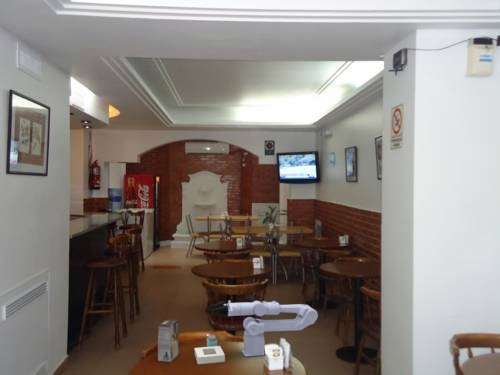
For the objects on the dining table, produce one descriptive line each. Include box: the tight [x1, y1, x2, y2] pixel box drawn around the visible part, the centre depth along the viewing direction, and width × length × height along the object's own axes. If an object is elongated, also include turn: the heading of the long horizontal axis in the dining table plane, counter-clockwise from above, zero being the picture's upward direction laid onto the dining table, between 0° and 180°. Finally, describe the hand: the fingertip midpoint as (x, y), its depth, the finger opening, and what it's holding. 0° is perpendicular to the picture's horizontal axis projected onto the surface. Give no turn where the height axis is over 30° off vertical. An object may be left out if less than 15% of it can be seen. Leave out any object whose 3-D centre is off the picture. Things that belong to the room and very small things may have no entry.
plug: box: [206, 334, 218, 347], centre depth 208 cm, size 4×6×6 cm, turn 14°
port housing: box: [193, 345, 226, 365], centre depth 197 cm, size 12×12×3 cm
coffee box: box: [157, 319, 179, 363], centre depth 197 cm, size 9×6×16 cm
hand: (210, 310), depth 198 cm, fingers open, 7 cm apart
